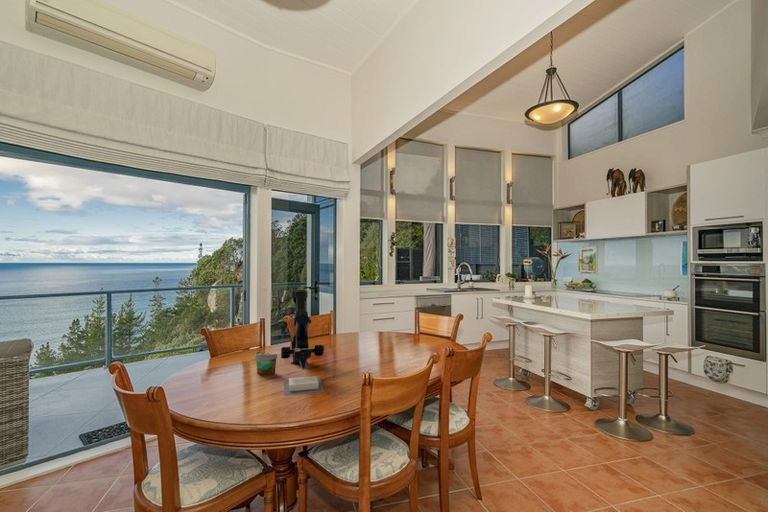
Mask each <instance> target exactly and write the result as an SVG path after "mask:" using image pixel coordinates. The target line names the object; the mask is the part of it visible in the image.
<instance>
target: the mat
mask: <svg viewBox="0 0 768 512" xmlns="http://www.w3.org/2000/svg"><path fill="white" fill-rule="evenodd" d="M317 379H318V382H319V385H318V389H312V390H302V391H292V392H290V391H289V378H287V379H283V393H284V394H283V396H285V397H287V396H294V395H295V396H296V395H306V394H315V393H316V394H317V393H324V392H325V390H324V387H323V383H322V380H321V377H320V376H319V375H318V376H317Z"/></svg>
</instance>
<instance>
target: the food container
mask: <svg viewBox="0 0 768 512" xmlns="http://www.w3.org/2000/svg"><path fill="white" fill-rule="evenodd" d="M254 359H255V360H256V361H255V362H256V374H257V375H259V376H271V375H275V374H276V365H277V359H278V355H277V353H274V354H270V353H264V352H261V351H260V350H258V351H256V352H255V355H254Z"/></svg>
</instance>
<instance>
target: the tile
mask: <svg viewBox="0 0 768 512" xmlns="http://www.w3.org/2000/svg"><path fill="white" fill-rule="evenodd" d="M317 377H318V376H317V375H312V376H298V377H289V378H288V379H289V391H290V392H292V391H302V390H312V389H318V385H319V382H318V379H317Z"/></svg>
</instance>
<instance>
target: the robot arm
mask: <svg viewBox="0 0 768 512" xmlns="http://www.w3.org/2000/svg"><path fill="white" fill-rule="evenodd" d="M308 293H309V291H308V290H307V291H306V289H293V291H291V299H292V302H293V305H294V306H295V313H294V317H293V319H292V320H293V321H292V322H293V326H294V328H295V334H294V336H293V337H292V341H291V344H290V346H281V349H280V350H281V351H280V359H283V360H285V359H289V358H290V357H291V356H292V361H291V362H290V364H293V365H295V366H300V367H301V369H302V370H305V368H306V364H307V363H308V360H309V359H311V357H312V353H313V354H314V356H315V357H322V356H324V353H325V346H324V345H323V344H315V345H314V347H310V343H309V342H310V341H309V326H310V324H311V323H312V319H311V318H310V317H309V312H308V311H306V302H307V299H308V297H309V296H308V295H309V294H308Z"/></svg>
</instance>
